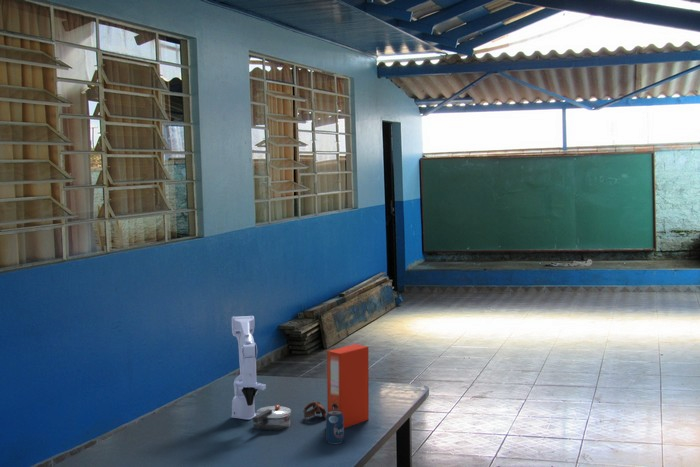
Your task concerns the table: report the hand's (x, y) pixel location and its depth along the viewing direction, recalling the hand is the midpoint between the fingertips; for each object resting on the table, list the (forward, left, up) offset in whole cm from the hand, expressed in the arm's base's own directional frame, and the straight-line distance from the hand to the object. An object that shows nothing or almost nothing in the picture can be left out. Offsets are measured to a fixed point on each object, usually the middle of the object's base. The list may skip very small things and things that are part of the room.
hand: (250, 405), depth 349 cm
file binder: (+34, +23, -11) cm, 43 cm away
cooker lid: (+6, +4, -5) cm, 9 cm away
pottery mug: (+18, +24, -11) cm, 32 cm away
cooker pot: (+6, +6, -10) cm, 13 cm away
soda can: (+39, -1, -11) cm, 41 cm away
